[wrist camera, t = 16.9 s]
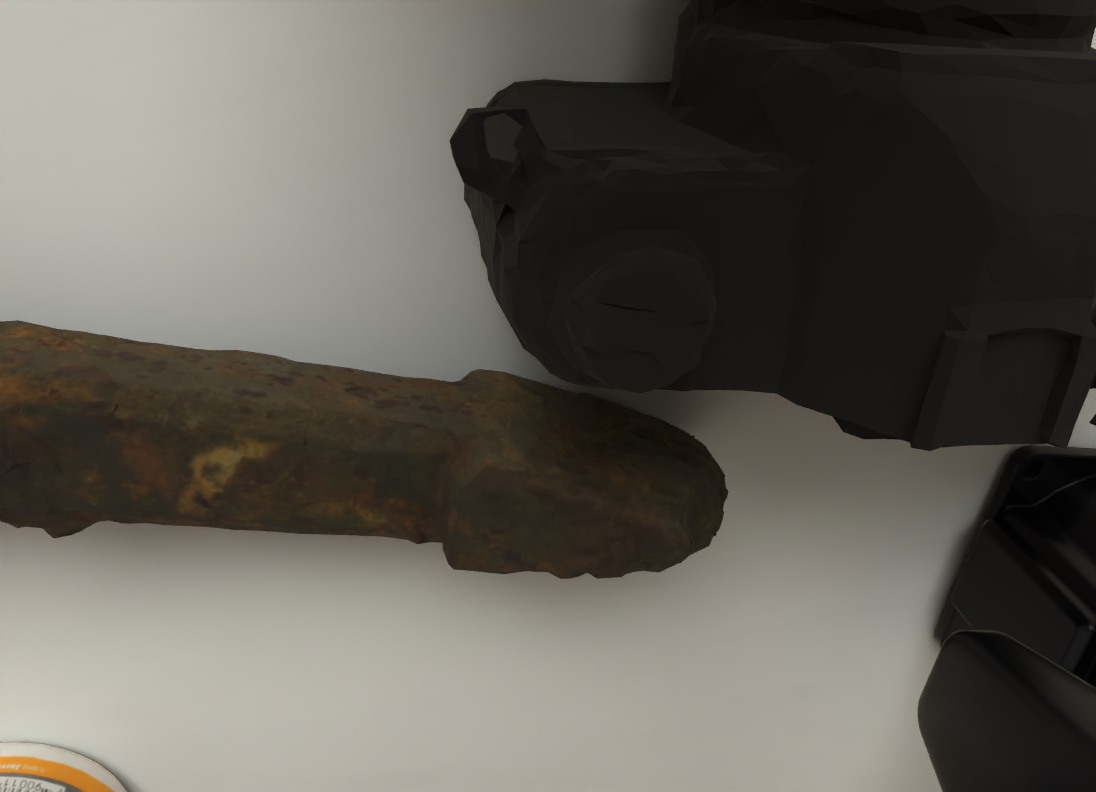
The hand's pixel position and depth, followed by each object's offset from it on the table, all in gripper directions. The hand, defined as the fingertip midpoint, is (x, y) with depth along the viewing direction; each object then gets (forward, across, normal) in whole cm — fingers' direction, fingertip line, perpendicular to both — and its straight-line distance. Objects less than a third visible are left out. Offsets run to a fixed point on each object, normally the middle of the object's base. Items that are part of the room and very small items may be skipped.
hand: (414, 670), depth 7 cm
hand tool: (+13, +2, +4) cm, 14 cm away
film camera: (+13, -8, -4) cm, 16 cm away
